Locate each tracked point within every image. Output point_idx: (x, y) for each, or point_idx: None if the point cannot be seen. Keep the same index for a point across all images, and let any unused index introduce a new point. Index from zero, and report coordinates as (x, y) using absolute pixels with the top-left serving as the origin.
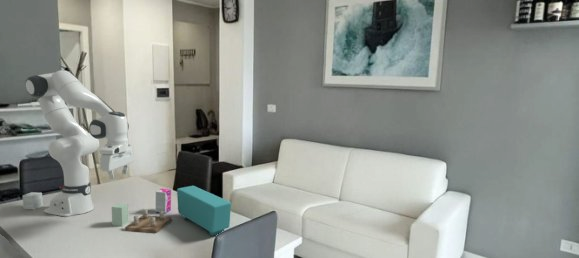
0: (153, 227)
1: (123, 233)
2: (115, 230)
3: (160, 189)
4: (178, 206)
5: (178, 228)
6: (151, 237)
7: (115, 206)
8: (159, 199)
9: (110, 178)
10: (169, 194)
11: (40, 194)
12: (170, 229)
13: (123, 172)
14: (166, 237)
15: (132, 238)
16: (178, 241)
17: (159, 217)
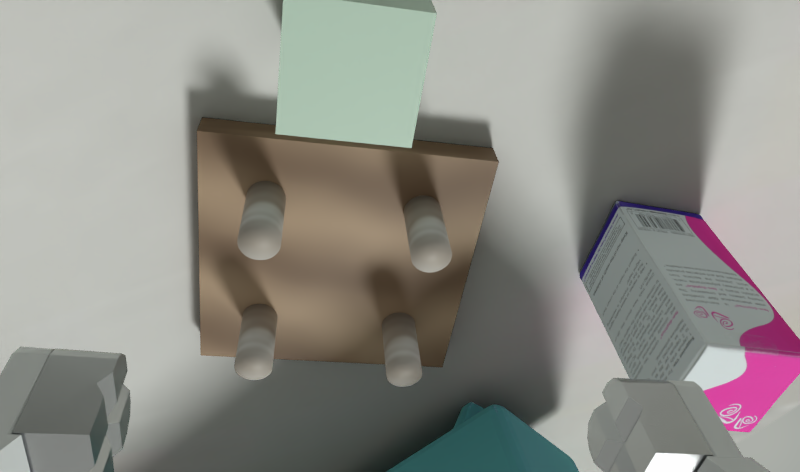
0: (237, 326)
1: (138, 130)
2: (182, 30)
3: (773, 361)
4: (497, 450)
5: (302, 418)
6: (127, 334)
7: (310, 36)
8: (646, 318)
9: (18, 368)
10: None
11: None
12: (279, 387)
13: (624, 425)
14: (153, 404)
15: (71, 232)
16: (119, 465)
17: (390, 329)
